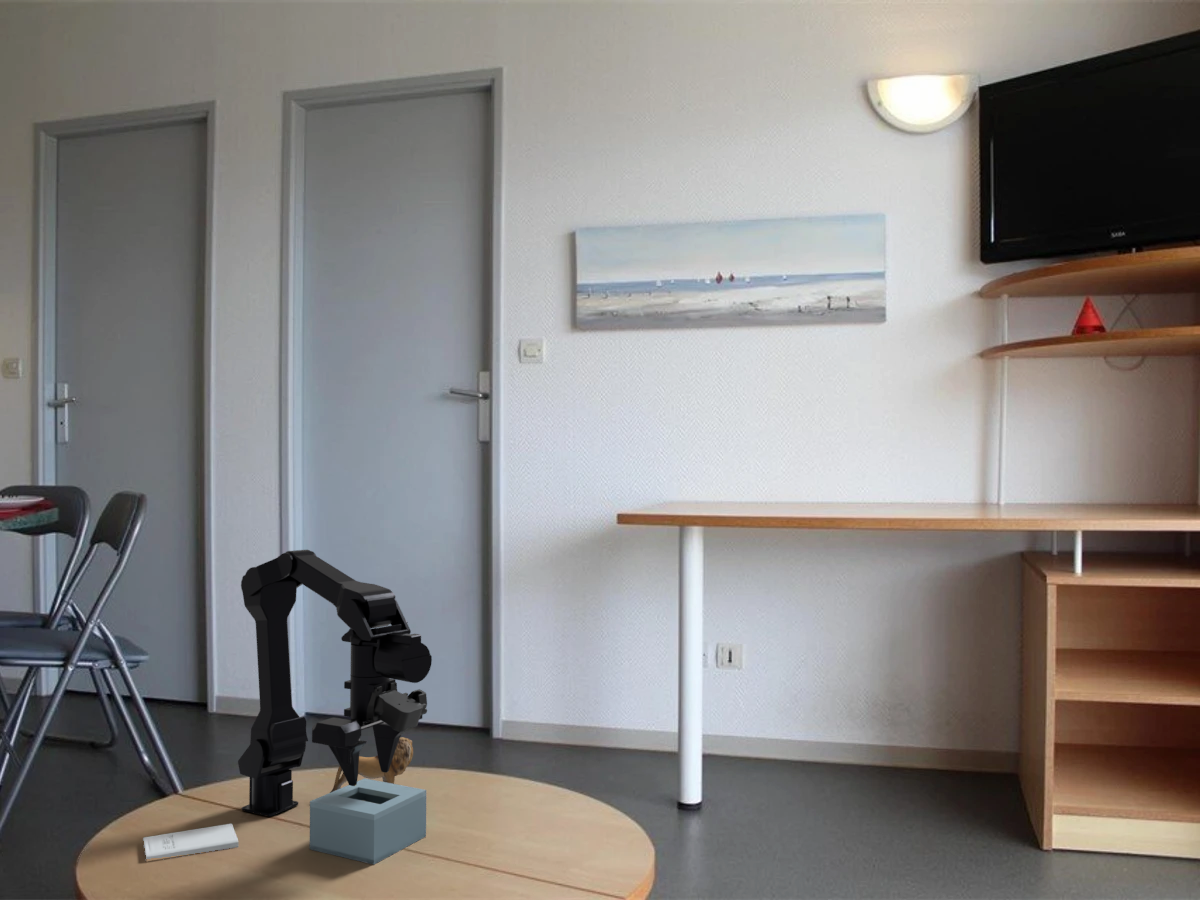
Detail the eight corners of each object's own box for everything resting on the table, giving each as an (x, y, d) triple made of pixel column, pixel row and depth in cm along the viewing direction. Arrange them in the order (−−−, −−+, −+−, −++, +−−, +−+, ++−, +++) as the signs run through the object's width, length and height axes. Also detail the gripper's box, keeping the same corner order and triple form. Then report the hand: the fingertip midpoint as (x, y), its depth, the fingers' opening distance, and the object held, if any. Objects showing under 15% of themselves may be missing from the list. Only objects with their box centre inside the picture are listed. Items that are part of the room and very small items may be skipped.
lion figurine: (409, 783, 175) (409, 732, 175) (417, 792, 170) (417, 740, 170) (324, 795, 168) (324, 742, 168) (330, 805, 163) (330, 750, 164)
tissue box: (309, 849, 144) (309, 801, 145) (364, 823, 155) (364, 778, 155) (373, 864, 139) (374, 814, 139) (426, 836, 150) (426, 789, 150)
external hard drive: (238, 851, 145) (145, 866, 140) (231, 832, 153) (142, 846, 147) (238, 840, 145) (145, 854, 140) (231, 822, 153) (143, 835, 147)
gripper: (371, 692, 136) (370, 806, 135) (451, 667, 152) (450, 769, 152) (309, 683, 141) (308, 793, 140) (393, 660, 157) (392, 759, 157)
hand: (369, 778), depth 147 cm, fingers open, 7 cm apart
